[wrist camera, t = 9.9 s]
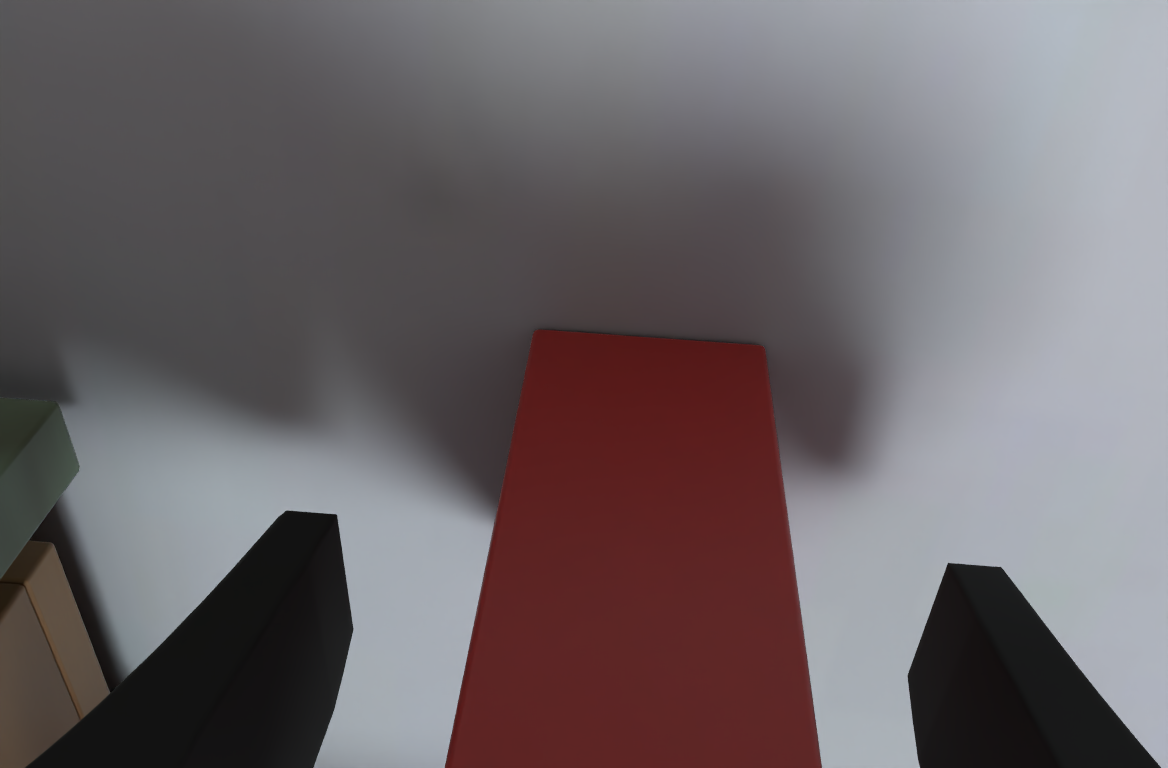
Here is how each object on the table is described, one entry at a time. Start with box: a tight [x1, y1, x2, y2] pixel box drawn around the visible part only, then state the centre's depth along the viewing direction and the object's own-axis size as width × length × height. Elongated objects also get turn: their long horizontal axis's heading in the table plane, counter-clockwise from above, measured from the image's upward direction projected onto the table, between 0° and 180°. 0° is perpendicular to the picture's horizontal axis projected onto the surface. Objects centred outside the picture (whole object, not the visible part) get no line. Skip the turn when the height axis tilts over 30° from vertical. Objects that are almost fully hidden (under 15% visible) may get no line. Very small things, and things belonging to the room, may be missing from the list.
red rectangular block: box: [445, 329, 822, 768], centre depth 11 cm, size 4×3×7 cm
